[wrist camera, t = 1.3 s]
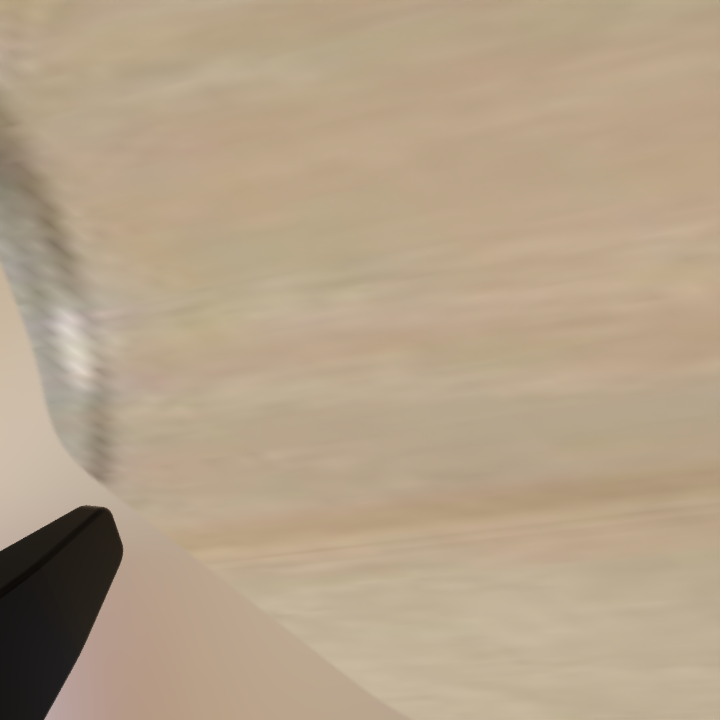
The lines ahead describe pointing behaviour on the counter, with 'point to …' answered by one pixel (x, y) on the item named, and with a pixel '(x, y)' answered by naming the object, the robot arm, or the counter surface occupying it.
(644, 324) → the counter surface
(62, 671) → the robot arm
